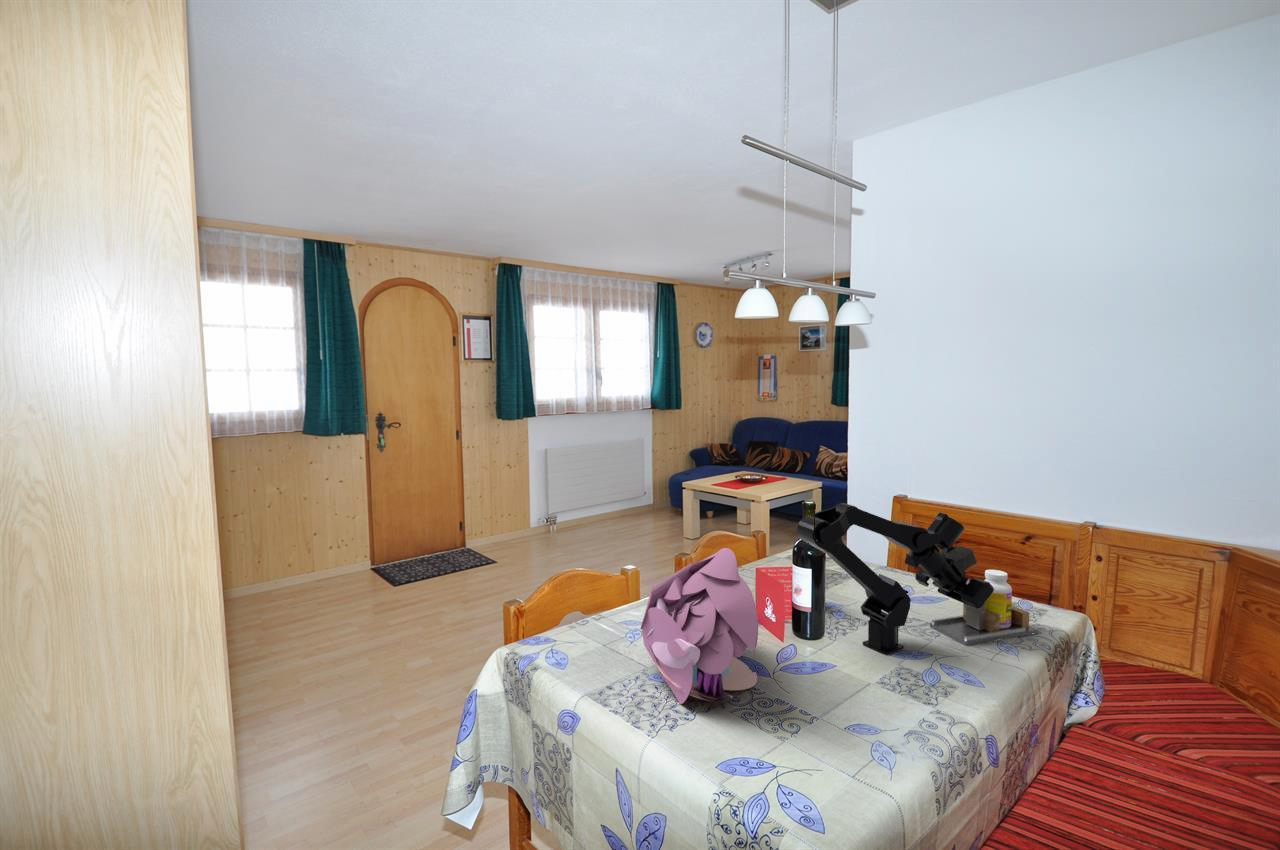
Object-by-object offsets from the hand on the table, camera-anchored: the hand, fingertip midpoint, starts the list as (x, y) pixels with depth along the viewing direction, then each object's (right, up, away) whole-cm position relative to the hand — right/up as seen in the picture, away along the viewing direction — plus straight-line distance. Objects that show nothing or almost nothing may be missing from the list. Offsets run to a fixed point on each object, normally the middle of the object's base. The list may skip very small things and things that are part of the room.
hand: (971, 604), depth 141 cm
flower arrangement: (-65, -9, -18) cm, 69 cm away
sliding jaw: (+2, -5, +1) cm, 6 cm away
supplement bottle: (+7, -6, +2) cm, 9 cm away
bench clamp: (+3, -7, +1) cm, 8 cm away
